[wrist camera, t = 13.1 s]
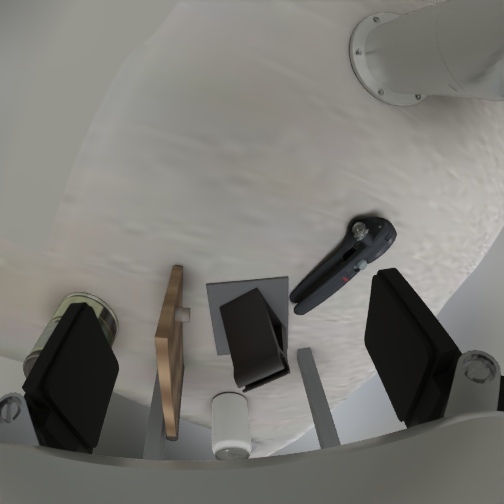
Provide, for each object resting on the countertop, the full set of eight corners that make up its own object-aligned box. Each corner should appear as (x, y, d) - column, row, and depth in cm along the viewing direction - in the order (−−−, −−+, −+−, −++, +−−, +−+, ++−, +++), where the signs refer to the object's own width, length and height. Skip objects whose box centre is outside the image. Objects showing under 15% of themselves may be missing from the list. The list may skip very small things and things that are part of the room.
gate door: (192, 370, 49) (188, 442, 37) (174, 369, 49) (166, 440, 36) (194, 267, 41) (184, 339, 28) (171, 265, 41) (152, 337, 28)
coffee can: (131, 324, 45) (109, 395, 32) (96, 353, 47) (72, 418, 34) (80, 278, 41) (39, 342, 28) (50, 313, 43) (13, 374, 30)
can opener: (368, 197, 39) (387, 211, 34) (395, 231, 42) (414, 248, 37) (272, 286, 44) (278, 310, 39) (305, 312, 47) (313, 337, 42)
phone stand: (286, 329, 47) (302, 390, 36) (251, 346, 48) (258, 407, 37) (257, 286, 43) (268, 347, 32) (219, 306, 44) (219, 368, 33)
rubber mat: (287, 276, 43) (288, 278, 43) (287, 346, 49) (287, 348, 49) (206, 283, 43) (206, 285, 42) (217, 353, 48) (217, 355, 48)
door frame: (309, 347, 49) (347, 465, 30) (309, 357, 50) (343, 473, 31) (159, 359, 48) (140, 480, 29) (162, 369, 49) (146, 487, 30)
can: (229, 386, 52) (232, 443, 41) (254, 401, 55) (260, 455, 44) (204, 401, 54) (203, 456, 43) (229, 415, 56) (231, 467, 45)
